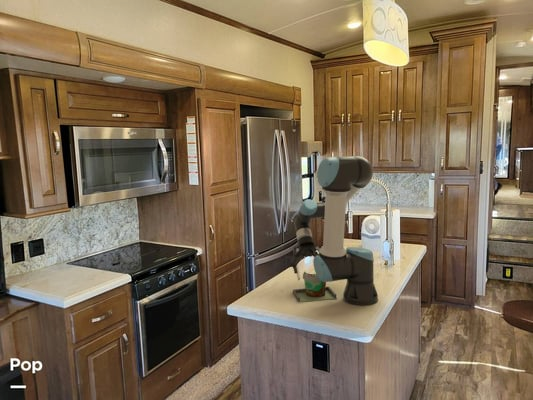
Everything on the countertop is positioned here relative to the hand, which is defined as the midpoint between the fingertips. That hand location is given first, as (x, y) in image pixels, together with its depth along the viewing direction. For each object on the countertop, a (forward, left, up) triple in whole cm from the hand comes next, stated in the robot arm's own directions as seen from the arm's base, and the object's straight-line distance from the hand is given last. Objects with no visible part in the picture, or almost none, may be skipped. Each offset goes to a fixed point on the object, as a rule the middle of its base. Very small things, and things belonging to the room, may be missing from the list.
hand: (313, 278), depth 189 cm
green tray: (+1, 0, -9) cm, 9 cm away
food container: (0, +1, -9) cm, 9 cm away
